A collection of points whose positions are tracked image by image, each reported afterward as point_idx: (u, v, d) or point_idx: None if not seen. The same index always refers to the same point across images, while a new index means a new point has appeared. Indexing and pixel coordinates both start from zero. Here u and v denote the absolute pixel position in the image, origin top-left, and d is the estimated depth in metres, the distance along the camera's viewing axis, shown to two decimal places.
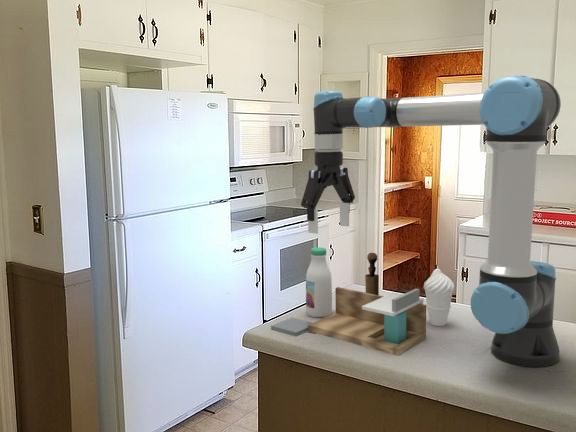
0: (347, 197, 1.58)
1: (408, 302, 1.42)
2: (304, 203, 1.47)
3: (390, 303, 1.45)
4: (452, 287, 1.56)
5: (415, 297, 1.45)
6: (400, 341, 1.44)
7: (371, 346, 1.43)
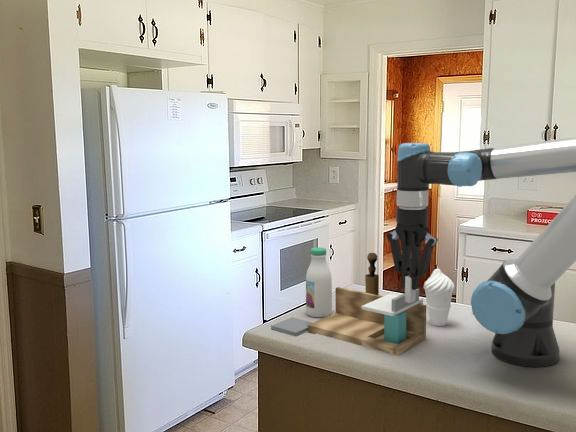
0: (412, 269, 1.39)
1: None
2: None
3: (390, 303, 1.45)
4: (452, 287, 1.56)
5: None
6: (400, 341, 1.44)
7: (371, 346, 1.43)
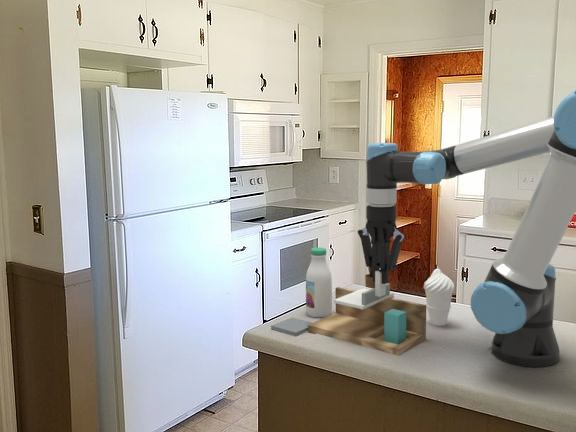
0: (381, 264, 1.44)
1: None
2: None
3: (361, 297, 1.50)
4: (452, 287, 1.56)
5: None
6: (400, 341, 1.44)
7: (371, 346, 1.43)
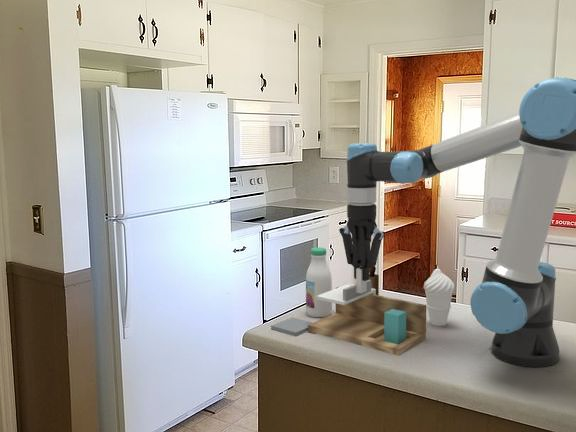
0: (362, 261, 1.48)
1: None
2: None
3: None
4: (452, 287, 1.56)
5: (367, 287, 1.54)
6: (400, 341, 1.44)
7: (371, 346, 1.43)
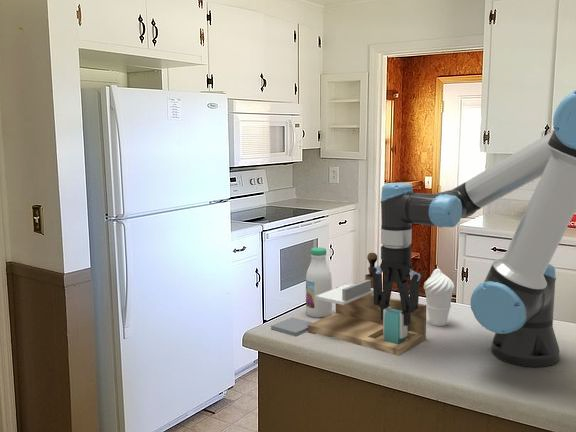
0: (402, 305, 1.42)
1: (359, 292, 1.52)
2: None
3: None
4: (452, 287, 1.56)
5: (366, 287, 1.55)
6: (400, 341, 1.44)
7: (371, 346, 1.43)
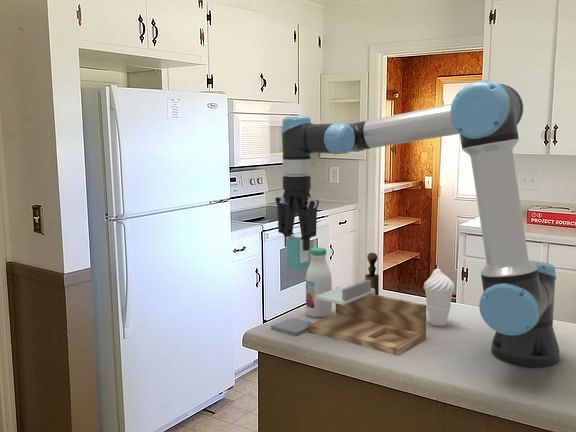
0: (302, 231, 1.52)
1: (359, 292, 1.52)
2: None
3: None
4: (452, 287, 1.56)
5: (366, 287, 1.55)
6: (301, 265, 1.54)
7: (371, 346, 1.43)
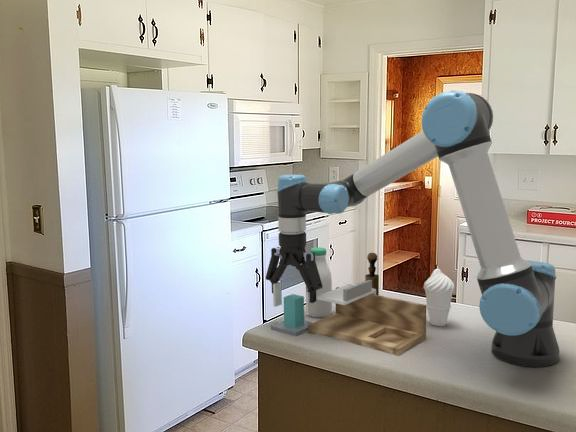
0: (307, 284, 1.52)
1: (360, 292, 1.52)
2: None
3: None
4: (452, 287, 1.56)
5: (367, 288, 1.54)
6: (297, 323, 1.57)
7: (371, 346, 1.43)
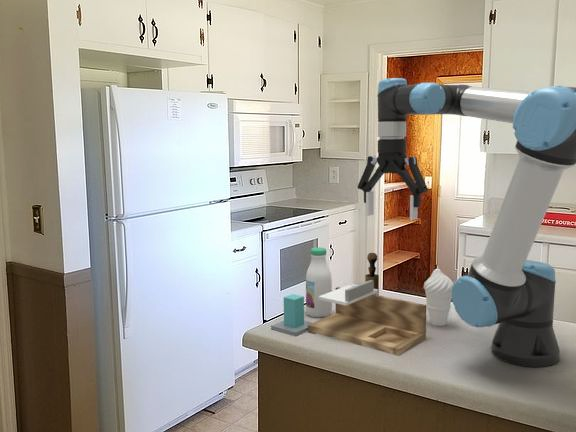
0: (411, 189, 1.49)
1: (362, 292, 1.51)
2: None
3: None
4: None
5: (369, 288, 1.54)
6: (297, 323, 1.57)
7: (371, 346, 1.43)
